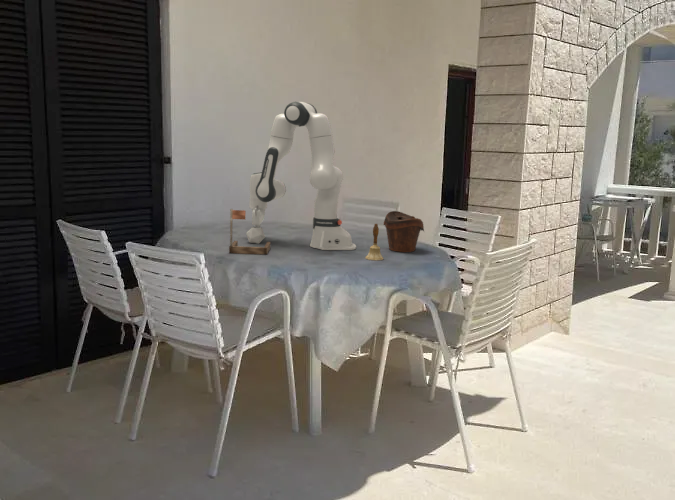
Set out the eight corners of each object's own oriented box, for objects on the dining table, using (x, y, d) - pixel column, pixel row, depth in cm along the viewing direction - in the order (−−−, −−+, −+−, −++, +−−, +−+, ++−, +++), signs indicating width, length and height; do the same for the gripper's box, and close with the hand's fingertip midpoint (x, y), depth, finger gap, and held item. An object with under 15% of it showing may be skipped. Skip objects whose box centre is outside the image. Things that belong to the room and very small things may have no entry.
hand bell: (386, 260, 300) (388, 225, 297) (369, 260, 297) (371, 225, 294) (379, 256, 308) (380, 222, 305) (362, 257, 305) (363, 222, 302)
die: (268, 243, 332) (262, 226, 336) (265, 238, 324) (259, 220, 327) (252, 249, 332) (246, 232, 335) (249, 243, 324) (243, 226, 327)
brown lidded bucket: (418, 255, 314) (420, 217, 311) (377, 250, 321) (379, 213, 318) (426, 249, 331) (429, 212, 328) (387, 245, 338) (389, 209, 334)
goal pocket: (270, 248, 318) (271, 206, 314) (266, 254, 303) (267, 210, 299) (234, 246, 318) (234, 204, 314) (229, 253, 302) (229, 209, 299)
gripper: (262, 207, 325) (261, 235, 328) (266, 202, 345) (266, 229, 348) (249, 206, 325) (248, 235, 328) (254, 202, 345) (254, 228, 348)
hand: (257, 231), depth 338 cm, fingers closed
